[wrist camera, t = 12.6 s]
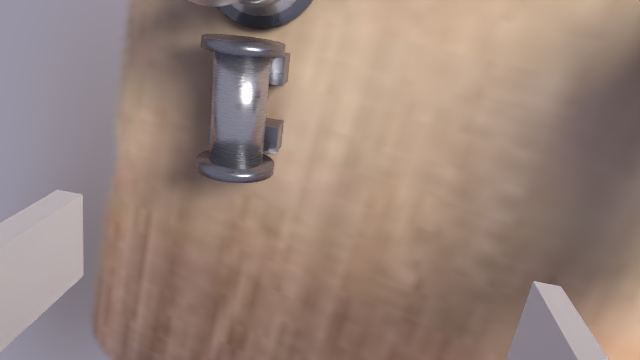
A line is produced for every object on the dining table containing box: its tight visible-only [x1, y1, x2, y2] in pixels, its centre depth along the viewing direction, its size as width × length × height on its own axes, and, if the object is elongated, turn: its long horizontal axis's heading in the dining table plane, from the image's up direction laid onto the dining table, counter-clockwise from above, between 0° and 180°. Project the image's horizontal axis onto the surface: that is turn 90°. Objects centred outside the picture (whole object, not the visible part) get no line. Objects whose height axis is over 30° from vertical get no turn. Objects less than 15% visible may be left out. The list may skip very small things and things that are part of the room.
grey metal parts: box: [196, 0, 313, 183], centre depth 39 cm, size 21×10×8 cm, turn 173°
